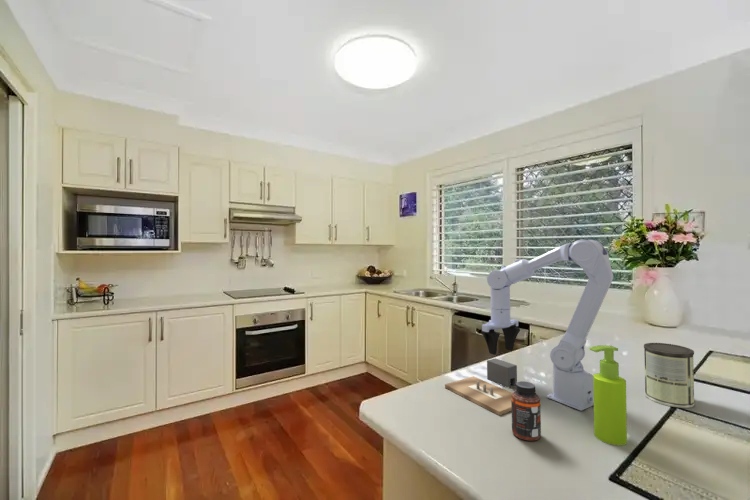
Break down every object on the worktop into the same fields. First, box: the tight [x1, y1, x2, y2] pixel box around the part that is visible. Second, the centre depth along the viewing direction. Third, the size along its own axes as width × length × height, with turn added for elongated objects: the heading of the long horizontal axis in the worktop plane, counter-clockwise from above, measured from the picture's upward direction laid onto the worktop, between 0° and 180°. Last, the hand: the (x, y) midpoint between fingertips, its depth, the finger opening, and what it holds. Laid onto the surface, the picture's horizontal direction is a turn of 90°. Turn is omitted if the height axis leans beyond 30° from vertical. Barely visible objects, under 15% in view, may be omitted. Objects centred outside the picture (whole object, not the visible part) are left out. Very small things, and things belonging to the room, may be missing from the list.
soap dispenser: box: [588, 344, 628, 446], centre depth 73 cm, size 6×7×20 cm
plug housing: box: [486, 358, 518, 388], centre depth 105 cm, size 8×4×6 cm, turn 30°
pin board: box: [444, 376, 513, 416], centre depth 96 cm, size 20×12×3 cm, turn 30°
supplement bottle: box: [511, 380, 542, 442], centre depth 75 cm, size 6×6×11 cm
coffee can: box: [643, 342, 696, 409], centre depth 91 cm, size 10×10×14 cm
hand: (501, 351), depth 105 cm, fingers open, 7 cm apart
